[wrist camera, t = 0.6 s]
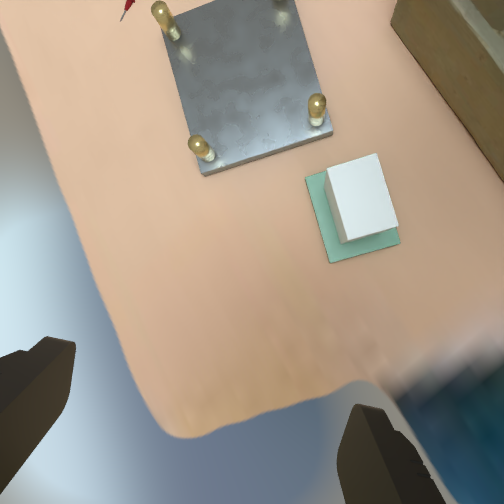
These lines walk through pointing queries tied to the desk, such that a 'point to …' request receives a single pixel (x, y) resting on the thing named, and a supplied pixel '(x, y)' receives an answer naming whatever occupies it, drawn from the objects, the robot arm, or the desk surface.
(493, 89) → the caddy
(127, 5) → the digital clamp meter
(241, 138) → the standoff chassis
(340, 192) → the board module
